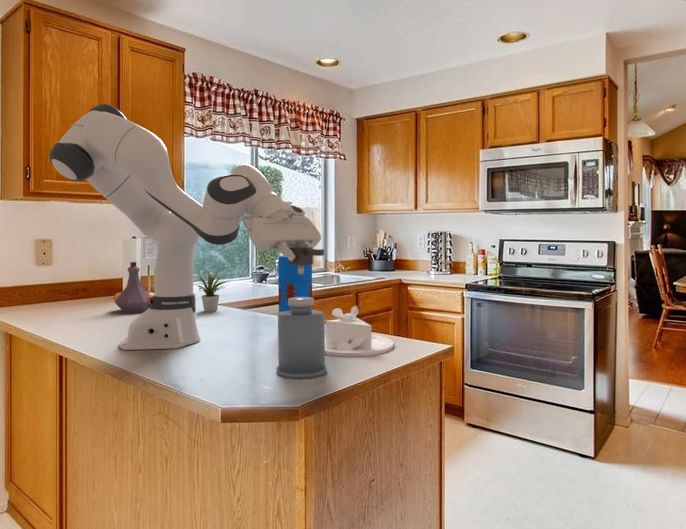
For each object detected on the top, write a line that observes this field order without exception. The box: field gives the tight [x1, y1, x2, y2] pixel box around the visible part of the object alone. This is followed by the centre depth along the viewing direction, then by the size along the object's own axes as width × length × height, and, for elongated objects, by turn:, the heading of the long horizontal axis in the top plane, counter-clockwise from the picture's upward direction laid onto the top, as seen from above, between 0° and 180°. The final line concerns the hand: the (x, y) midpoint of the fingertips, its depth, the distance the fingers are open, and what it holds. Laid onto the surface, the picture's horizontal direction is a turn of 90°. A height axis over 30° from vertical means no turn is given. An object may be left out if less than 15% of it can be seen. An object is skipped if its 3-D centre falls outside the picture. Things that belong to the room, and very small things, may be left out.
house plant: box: [196, 271, 230, 313], centre depth 206 cm, size 14×14×16 cm
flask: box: [114, 261, 152, 314], centre depth 208 cm, size 16×16×20 cm
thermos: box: [277, 255, 313, 313], centre depth 164 cm, size 11×11×25 cm
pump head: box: [289, 247, 325, 274], centre depth 118 cm, size 8×4×6 cm, turn 52°
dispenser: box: [275, 297, 328, 380], centre depth 120 cm, size 12×12×18 cm
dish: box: [325, 305, 395, 357], centre depth 147 cm, size 25×25×11 cm
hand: (302, 258), depth 119 cm, fingers closed on pump head, 4 cm apart
